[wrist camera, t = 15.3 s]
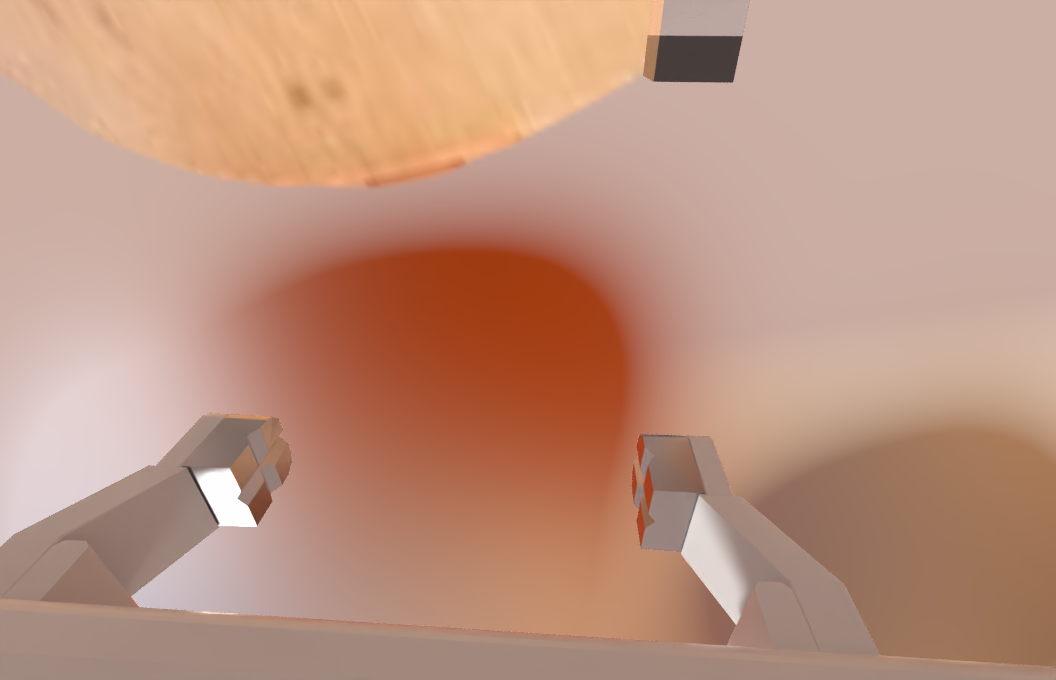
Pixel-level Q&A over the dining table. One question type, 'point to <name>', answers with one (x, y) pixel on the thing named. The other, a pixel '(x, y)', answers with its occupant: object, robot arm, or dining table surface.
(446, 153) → the dining table surface
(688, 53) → the grey bar
